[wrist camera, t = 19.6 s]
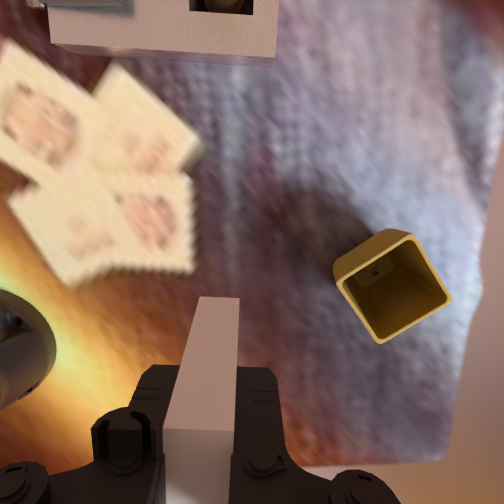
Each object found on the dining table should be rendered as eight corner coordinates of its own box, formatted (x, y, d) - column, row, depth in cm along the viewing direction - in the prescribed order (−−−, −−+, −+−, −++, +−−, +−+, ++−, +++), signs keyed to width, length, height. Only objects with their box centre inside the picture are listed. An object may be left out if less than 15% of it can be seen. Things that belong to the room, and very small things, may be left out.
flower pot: (317, 254, 44) (334, 282, 36) (380, 212, 43) (413, 231, 34) (354, 307, 47) (378, 346, 38) (415, 269, 45) (454, 301, 37)
